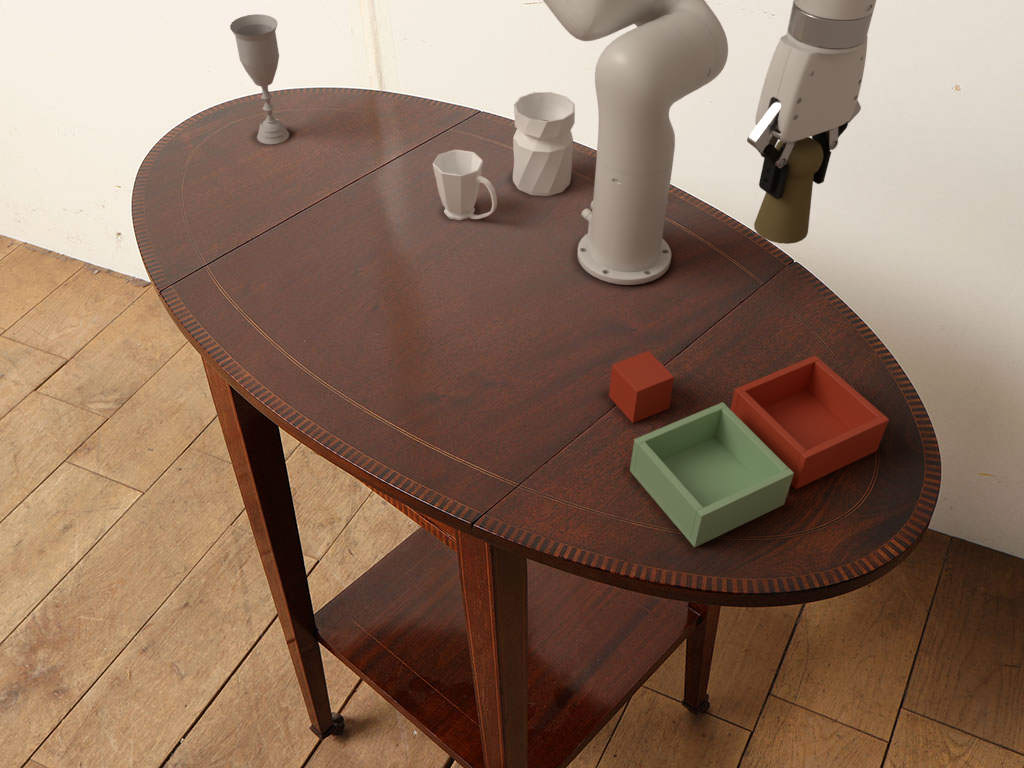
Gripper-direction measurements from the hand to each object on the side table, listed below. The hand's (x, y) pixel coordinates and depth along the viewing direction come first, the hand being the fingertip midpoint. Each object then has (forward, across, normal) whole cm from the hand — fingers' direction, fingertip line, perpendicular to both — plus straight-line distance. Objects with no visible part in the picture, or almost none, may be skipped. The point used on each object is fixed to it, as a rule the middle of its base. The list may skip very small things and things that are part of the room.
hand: (791, 183), depth 108 cm
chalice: (+21, +35, -75) cm, 85 cm away
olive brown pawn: (+6, 0, 0) cm, 6 cm away
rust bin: (+21, +7, +16) cm, 28 cm away
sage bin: (+21, +22, +17) cm, 35 cm away
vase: (+21, +5, -43) cm, 48 cm away
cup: (+21, +19, -40) cm, 49 cm away
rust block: (+21, +20, +3) cm, 29 cm away
